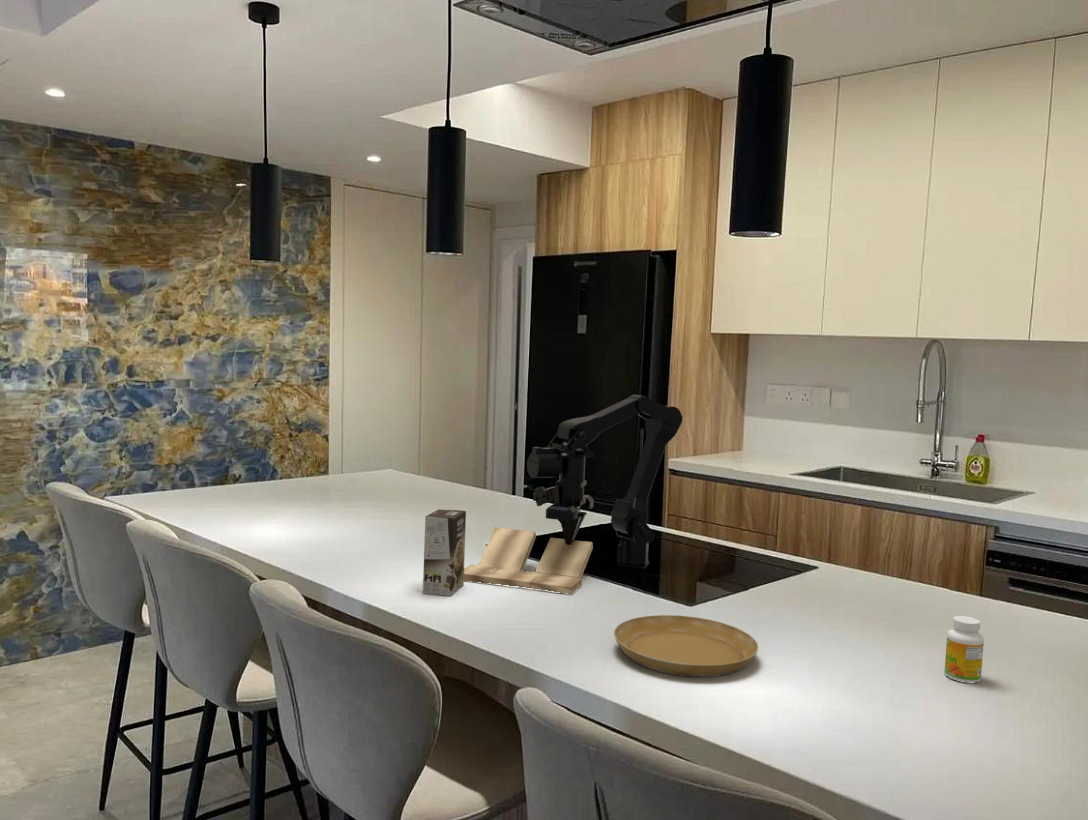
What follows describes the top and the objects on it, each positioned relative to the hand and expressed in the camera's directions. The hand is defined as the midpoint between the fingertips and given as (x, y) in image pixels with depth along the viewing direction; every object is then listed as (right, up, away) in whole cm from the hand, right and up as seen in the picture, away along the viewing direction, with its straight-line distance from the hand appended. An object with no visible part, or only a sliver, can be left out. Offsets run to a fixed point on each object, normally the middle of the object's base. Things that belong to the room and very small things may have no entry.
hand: (568, 544), depth 198 cm
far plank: (-14, -2, +1) cm, 14 cm away
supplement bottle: (+62, -13, -57) cm, 85 cm away
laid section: (-11, -7, -10) cm, 17 cm away
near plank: (-1, -4, -2) cm, 5 cm away
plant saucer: (+18, -11, -51) cm, 55 cm away
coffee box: (-27, -7, -17) cm, 32 cm away
